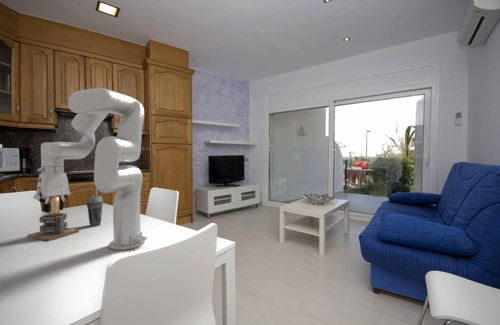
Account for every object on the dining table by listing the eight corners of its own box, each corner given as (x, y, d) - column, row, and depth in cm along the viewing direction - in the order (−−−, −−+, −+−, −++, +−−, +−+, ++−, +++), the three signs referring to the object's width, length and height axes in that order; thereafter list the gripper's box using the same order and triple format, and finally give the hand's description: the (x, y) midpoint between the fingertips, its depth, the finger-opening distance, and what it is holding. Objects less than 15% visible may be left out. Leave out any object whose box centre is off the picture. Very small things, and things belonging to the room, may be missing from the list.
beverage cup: (83, 226, 114) (82, 186, 114) (98, 222, 121) (98, 184, 120) (91, 228, 111) (90, 187, 110) (106, 224, 117) (106, 185, 117)
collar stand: (78, 232, 105) (78, 213, 105) (48, 241, 94) (48, 220, 94) (58, 228, 110) (58, 211, 110) (27, 236, 99) (27, 217, 99)
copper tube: (62, 227, 104) (62, 188, 103) (51, 230, 99) (50, 189, 99) (56, 226, 105) (55, 187, 104) (44, 229, 101) (43, 189, 100)
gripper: (34, 171, 92) (35, 216, 93) (78, 169, 108) (79, 207, 109) (23, 171, 95) (24, 214, 95) (67, 169, 110) (68, 206, 111)
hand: (53, 210), depth 102 cm, fingers closed on copper tube, 4 cm apart
